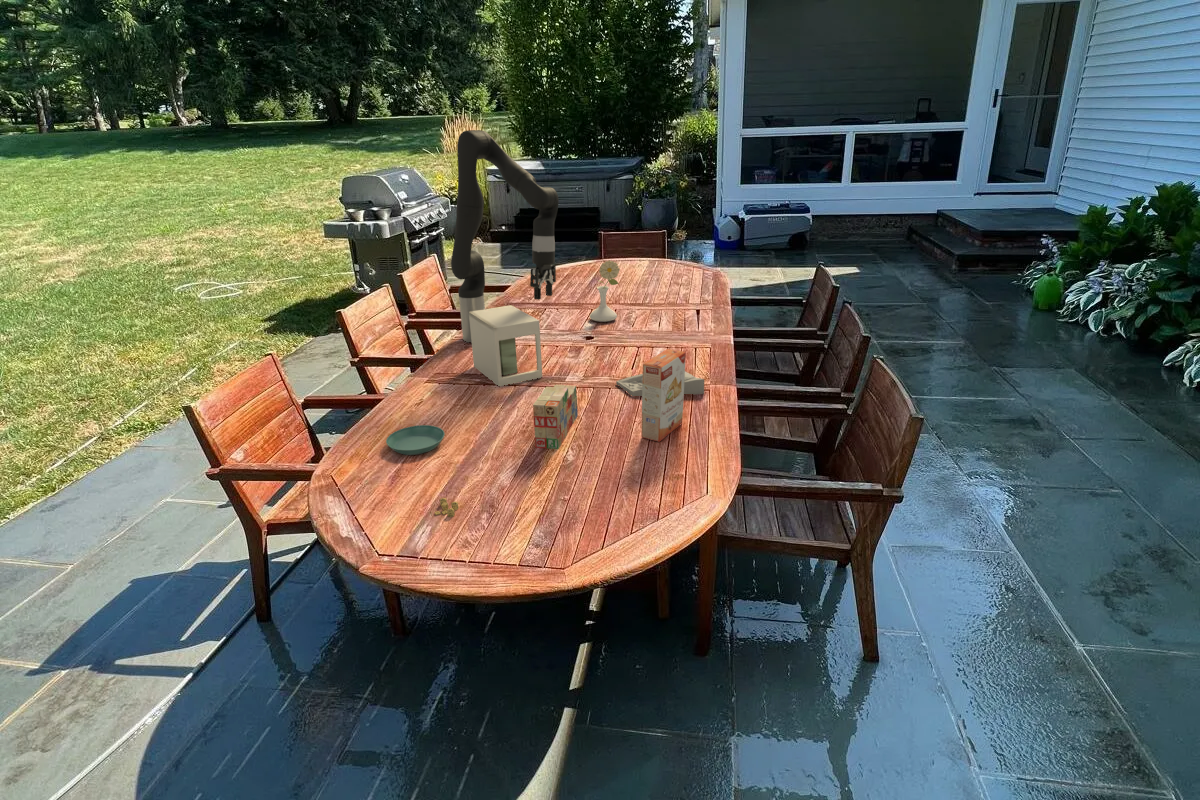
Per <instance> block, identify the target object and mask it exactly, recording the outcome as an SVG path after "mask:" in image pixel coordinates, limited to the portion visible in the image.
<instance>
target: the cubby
mask: <svg viewBox="0 0 1200 800" xmlns="http://www.w3.org/2000/svg"><path fill="white" fill-rule="evenodd" d="M469 321H470V331H471V341H472V343H471V348H472V349H471V350H472V361H473V368H475V369H477V370H478V371H479V372H480V373H481V374H483V375H484V376H485V377H486V378H487V377H488V378H487V379H488V380H490V381H491V380H492V381H493V382H492V381H491V382H492V383H494V384H495V386H497V385H498V386H500V387H504V385H505V386H509V385H508V384H510V385H514V384H518V382H519V383H522V382H521V381H524V382H527V381H526V380H528V381H533V380H537V378H538V379H542V378H543V366H542V365H543V364H542V361H543V360H542V347H541V345H542V344H541V330H540V329H541V327H540V320H539V319H537V318H536V317H534V316H532V315H530V314H528V313H526V312H525V311H523V310H520V309H519V308H518V307H515V306H514V305H511V304H510V305H504V306H498V307H492V308H485V309H484V310H477V311H471V312H469ZM527 336H534V340H535V341H534V342H535V355H536V356H535V357H536V358H535V359H536V369H535V370H529V371H526V372H525V371H524V372H521V373H514V374H509V375H504V376H502V374H501V362H500V350H499V341H500V340H506V339H511V338H515V339H516V338H522V337H527ZM541 377H542V378H541ZM532 379H533V380H532ZM513 383H514V384H513Z"/></svg>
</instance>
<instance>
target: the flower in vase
mask: <svg viewBox="0 0 1200 800" xmlns="http://www.w3.org/2000/svg"><path fill="white" fill-rule="evenodd" d="M598 270H599V271H598V272H599V274H600V276H601V278H603V279H605V280H607V282H606V283H604V282H603V281H601V280H598V279H597V281H598V282H599V283H600V284H601V283H602V284H604V285H600V286H597V287H596V288H597V291H598V293H599V299H600V302H599V305H598V307H596V308H595V309H594V310H592V312H591V313H590V315H589V318H590V320H592V321H595V322H601V323H603V322H604V323H606V322H612V321H614V320H615V319H617V318H618V314H617V313H616V312H615V311H614V310H613V309H612V308H610V307H609V306H608V305H607V292H608V290H609V289H610V286H607V285H608V283H609V284H610V285H611V286H615V285H619V284H620V283H619V282H618V281H617V279H615V278H617V277H618V274H620V270H621V269H620V267H619V265H618V263H617V262H614V261H612V260H605V261H604V262H602V263H601V265H600V267H599V269H598Z"/></svg>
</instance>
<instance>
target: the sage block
mask: <svg viewBox="0 0 1200 800" xmlns="http://www.w3.org/2000/svg"><path fill="white" fill-rule="evenodd" d="M499 350H500V362H501V375H503V376H509V375H514V374H519V373H518V372H519V371H518V360H517V358H518V357H517V347H516V338H511V339H506V340H500V341H499ZM508 374H509V375H508Z"/></svg>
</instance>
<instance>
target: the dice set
mask: <svg viewBox="0 0 1200 800" xmlns="http://www.w3.org/2000/svg"><path fill="white" fill-rule="evenodd" d="M450 503H451V507H450V508H449V503H448V501H447V498H446V497H442V498H440V499H439V504H440V506H441V508H442V510H441V512H440V510H438V511H434V515H435V516H439V515H441V514H442V515H443V516H445V515H447V517H448V518H453V517H455V511H457V510H459V502H458V501H452V502H450Z"/></svg>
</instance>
